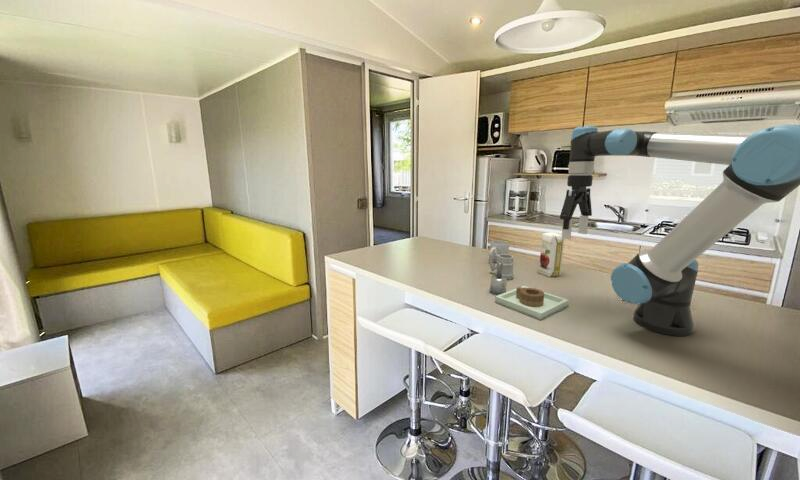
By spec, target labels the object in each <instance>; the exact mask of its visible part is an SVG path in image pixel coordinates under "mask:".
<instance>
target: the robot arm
mask: <svg viewBox="0 0 800 480" xmlns="http://www.w3.org/2000/svg"><path fill="white" fill-rule="evenodd" d="M598 130H599V129H598V127H597V126H595V125H594V126H591V125H590V126H589V125H588V126H578V127H575V128H574V129H572V133H571V138H570V152H569V161H568V165H567V168H568V174H569V175H568V176H567V182H566V185H567V186H568V187H571V188H570V189H566V195H565V199H564V202H563V205H562V209H561V212H560V214H559V215H560V216H559V219H560V220H562V227H561V228H562V229H561V235H562V238H564V240H571V238H572V237H571V236H572V229H573V227H572V226H573V219H572V218H573V215H574V213H575V211H576V208H577V205H578V208H579V211H580V214H581V215H579V219H578V221H579V222H578V230H577V231H578V234H582V235H587V234H588V226H589V216H590V217H591V216H592V215H593V211H592V210H593V209H592V201H591V198H592V197H591V188H590V187H592V186H593V179H594V178H593V177H594V176H593V175H592V174H594V171H595V159H596V157H599V156H600V157H601V156H602V157H604V156H609V157H610V156H611V157H612V156H615V157H616V156H617V157H618V156H626V157H628V156H629V157H630V156H633V157H634V156H635V157H644V158H645V157H646V158H656V159H666V160H677V161H678V160H679V161H687V162H694V163H695V162H697V163H706V164H716V165H726V166H727V167H725V169H724V170H723V171H722V176H723V177H722V178H723V181H722V182H721V183H720V184H719V185H718V186H717V187H716V188H715V189H714V190H712V191H711V192H710V193H709V194H708V195H707V196H706V197H705V198H703V200H701V202H700V203H699V204H698V205H696V206H695V207H694V208H693V209H692V210H691V211H690V212H689V213H688V214H687V215H685V217H684V218H682V219H681V221H680V222H678V223H677V224H676V225H675V227H673V228H672V229H671V230H670V231H669V232H667V234H665V236H663V238H661V239H660V240H659V242H658V243H656V244H655V245H654V246H653V247H652V248H651V249H650V248H648V249H647V248H645V249H642V250H640V251H639V252H638V253H636V255H635V256H634V257H633V258H632V259H631V260H630V261H628V262H627V263H626V262H625V263H624V262H623V263H621V264H620V265H617V266H616V267H615V268H614V269H613V270H612V271H611V275H610V281H611V286H612V289H613V292H615V294H616V295H617V296H618V297H619V298H620V299H621V300H623V301H624V302H627V303H630V304H632V305H633V304H637V307H636V308H635V309H634V312H633V317H632V319H633V321H634V322H635V324H637V325H639V326H640V327H642V328H644V329H646V330H648V331H652V332H655V333H658V334H662V335H666V336H667V335H668V336H676V337H686V336H690V335H692V333H693V331H694V324H695V323H694V319H693V315H692V311H691V302H692V299H693V294H694V289H695V286H696V281H697V276H698V273H699V262H698V260H697V259H698V258H699V257H700V256H701V255H702V254H704V253H705V252H706V251H708V250H709V249H710V248H711V247H712V246H714V245H715V244H716V243H717V242H719V241H720V240H721V239H722V238H724V237H725V236H726V235H728V233H730V232H731V231H732V230H733V229H735V227H737V226H738V225H739V224H741V223H742V222H743V221H744V220H745V219H747V218H748V217H749V216H750V215H752V214H753V213H754V212H755V211H756V210H758V209H759V208H760V207H762V206H763V205H764V204H768V203H778V202H780V201H782V200H783V199H785V197H787V196H788V195H789V194H791V193H792V192H793V191H794V190H796V189H797V188H798V187H799V186H800V124H783V125H775V126H772V127H771V126H770V127H767V128H764V129H760V130H758V131H756V132H753V133H752V134H751V135H750V134H748V135H747V134H723V133H720V134H719V133H696V132H695V133H694V132H693V133H691V132H668V131H666V132H664V131H662V132H661V131H646V130H645V131H641V130H638V131H637V130H633V129H632V128H631V129H630V128H617V129H612V130H604V131H598Z"/></svg>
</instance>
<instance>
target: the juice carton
mask: <svg viewBox="0 0 800 480" xmlns="http://www.w3.org/2000/svg"><path fill="white" fill-rule="evenodd" d="M541 236H542V237H541V246H540V257H539V266H538V273H539V274H541V275H543V276H546V277H548V278H552V277H553V278H554V277H560V276H561V272H562V271H561V270H562V263H563V262H562V261H563V255H564V254H563V253H564V245H565V239H564V238H562V233H561V234H560V233H557V232H554V231H551V232H549V231H548V232H542V235H541Z"/></svg>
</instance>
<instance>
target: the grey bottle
mask: <svg viewBox="0 0 800 480" xmlns="http://www.w3.org/2000/svg"><path fill="white" fill-rule="evenodd" d="M496 266H497V269H496V271H497V275H496V274H495V275H492V276H491V277H490V286H489V287H490V290H489V292H490V294H492V295H495V296H498V295H500V294H503V293H506V292H507V282H508V280H507V278H506V277H504V276H502V266H503V263H497V262H496Z"/></svg>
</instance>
